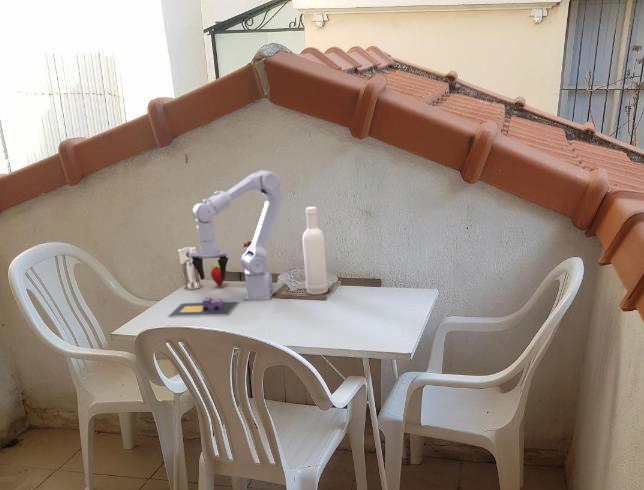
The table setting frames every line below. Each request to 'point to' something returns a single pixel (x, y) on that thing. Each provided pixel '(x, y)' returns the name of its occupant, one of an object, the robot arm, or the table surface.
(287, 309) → the table surface
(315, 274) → the bottle
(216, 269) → the decorative fruit
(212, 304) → the toy truck
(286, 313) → the table surface
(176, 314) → the play mat
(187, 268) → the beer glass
